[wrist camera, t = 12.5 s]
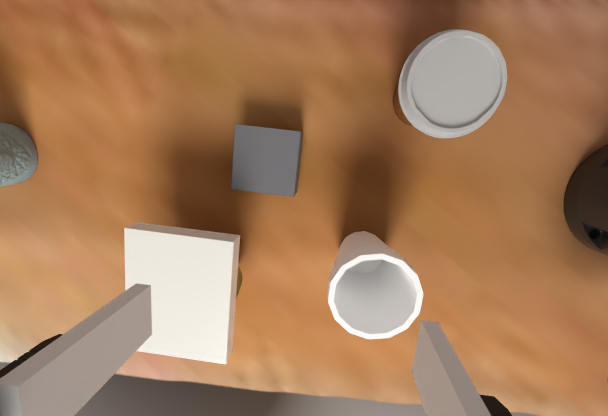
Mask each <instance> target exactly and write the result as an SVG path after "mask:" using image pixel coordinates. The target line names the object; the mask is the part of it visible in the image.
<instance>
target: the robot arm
mask: <svg viewBox="0 0 608 416" xmlns="http://www.w3.org/2000/svg"><path fill="white" fill-rule="evenodd" d="M564 213H565V218H566V221H567V224H568V226H569V228H570V230H571V232H572V233H573V235H574V236H575V237H576V238H577V239H578V240H579V241H580V242H581V243H583V244H584V245H586V246H587V247H589V248H591V249H593V250H596V251H598V252H601V253H603V254H606V255H608V145H606V146H604V147H602V148H601V149H599V150H597V151H596V152H595V153H593V154H592V155H591V156H589V157H588V158H587V159H586V160H585V161H584V162H583V163H582V164H581V165H580V167H579V168H578V169H577V170H576V172H575V173H574V175H573V177H572V178H571V180H570V182H569V185H568V187H567V190H566V194H565V199H564ZM151 335H152V311H151V285H145V284H138V283H136V284H135V285H133V286H132V287H130V288H129V289H128V290H126V291H125V292H123V293H122V294H120V295H119V296H118V297H116V298H115V299H113V300H112V301H110V302H109V303H108V304H106V305H105V306H103V307H102V308H100V309H99V310H98V311H96V312H95V313H93V314H92V315H90V316H89V317H88V318H86V319H85V320H83V321H82V322H80V323H79V324H78V325H76V326H75V327H73V328H72V329H70V330H69V331H68V332H66V333H65V334H58V335H56V336H54V337H52V338H49V339H47V340H45V341H43V342H41V343H40V344H38V345H37V346H35V347H34V348H32V349H31V350H29V352H26V353H25V354H23V355H22V356H20V357H19V358H18V360H15V361H13V362H12V363H10V364H9V365H7V366H6V367H4V368H3V369H1V370H0V416H74V415H75V414H76V413H77V412H78V411H79V410H80V408H82V407H83V406H84V404H86V403H87V401H88V400H89V399H90V398H91V397H92V396H93V395H94V394H95V393H96V392H97V391H98V390H99V389H100V388H101V387H102V386H103V385H104V384H105V383H106V382H107V381H108V380H109V378H110V377H112V376H113V375H114V374H115V372H116V371H117V370H118V369H119V368H120V367H121V366H122V365H123V364H124V363H125V362H126V361H127V360H128V359H129V358H130V357H131V356H132V355H133V354H134V353H135V352H136V351H137V350H138V349H139V348H140V347H141V345H142V344H143V343H144V342H145V341H146V340H147V339H148V338H149V337H150V336H151ZM412 374H413V377H414V380H415V383H416V386H417V389H418V392H419V395H420V398H421V401H422V404H423V407H424V410H425V413H426V416H512V415H511V414H510V412H509V410H508V409H507V408H506V407H505V406H504V405H503V404H501V403H500V402H499V401H498V400H497V399H496V398H495V397H493V396H486V395H479V393H478V392H477V390H476V388H475V386H474V385H473V383H472V381H471V379H470V378H469V376H468V374H467V372H466V370H465V369H464V367H463V365H462V363H461V362H460V360H459V358H458V356H457V355H456V353H455V351H454V349H453V348H452V346H451V344H450V342H449V341H448V339H447V337H446V335H445V333H444V332H443V330H442V328H441V326H440V325H439V323H438V322H431V321H423V320H421V324H420V330H419V335H418V341H417V346H416V352H415V357H414V363H413V368H412ZM607 384H608V379H607Z"/></svg>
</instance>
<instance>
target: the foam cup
mask: <svg viewBox="0 0 608 416" xmlns="http://www.w3.org/2000/svg"><path fill="white" fill-rule="evenodd" d="M422 299H423V291H422V288H421V285H420V281H419V278H418V275H417V274H416V272H415V271H414V269H413V268H412V266H411V265H410V264H409V263H408V262H407V261H406V260H405V259H404V258H403V257H402V256H401V255H400V254H399V253H398V252H396V251H393V250H392V249H390V248H389V247H388V246H387V245H386V244H385V243H384V242H382V241H381V240H380V239H379V238H378V237H377V236H376V235H374V234H371V233H369V232H366V231H361V232H354V233H352V234H350V235H349V236H347V237H345V239H344V240H343V242H342V243H341V245H340V247H339V251H338V254H337V257H336V261H335V264H334V268H333V269H332V271H331V272H330V278H329V286H328V303H329V306H330V308H331V311H332V314H333V316H334V319H335V320H336V321H337V322H338V323H339V324H340V325H341V326H342V327H343V328H345V329H346V330H347V331H348V332H349V333H351V334H354V335H357V336H360V337H363V338H366V339H381V338H390V337H392V336H394V335H396V334H398V333H400V332H402V331H404V330H406V329H407V328H408V327H409V326H410V325H411V323H412V322H413V321H414V320H415V318H416V317H417V316H418V315H419V313H420V309H421V304H422Z"/></svg>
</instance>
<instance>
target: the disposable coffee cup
mask: <svg viewBox="0 0 608 416" xmlns="http://www.w3.org/2000/svg"><path fill="white" fill-rule="evenodd" d="M506 83H507V70H506V62H505V60H504V58H503V56H502V54H501V51H500V49H499V48H498V47H497V46H496V45H495V44H494V43H493V42H492V40H490V39H489V38H487V37H486V36H484V35H482V34H479V33H476V32H473V31H469V30H463V29H452V30H446V31H442V32H439V33H436V34H434V35H432V36H430V37H429V38H427V39H425V40H424V41H423V42H422V43H420V44H419V45H418V46H417V47H416V48H415V49H414V50H413V52H412V53H411V54H410V55H409V57H408V59H407V60H406V62H405V64H404V66H403V68H402V71H401V74H400V78H399V85H398V87H397V89H396V91H395V93H394V97H393V106H394V110H395V113H396V115H397V116H398V118H399V119H400V120H401V121H403V122H404V123H406V124H408V125H412V126H414V127H415V128H416V129H418V130H419V131H421V132H423V133H424V134H427V135H430V136H432V137H437V138H456V137H460V136H464V135H466V134H468V133H470V132H472V131H474V130H476V129H477V128H479V127H480V126H482V125H483V124H484V123H485V122H486V121H487V120H488V119H489V118H490V117H491V116H492V114H493V113H494V112H495V110H496V108H497V107H498V105H499V104H500V102H501V100H502V97H503V95H504V93H505V89H506Z"/></svg>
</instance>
